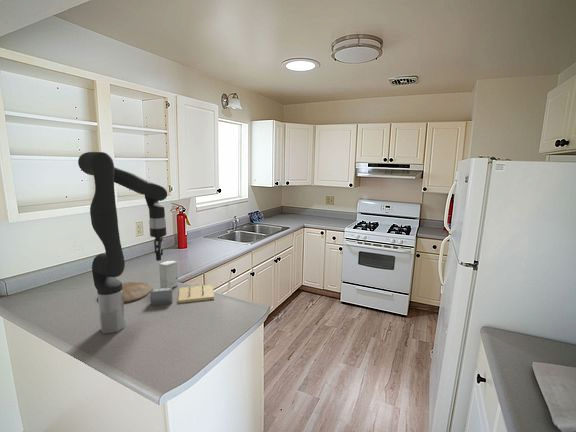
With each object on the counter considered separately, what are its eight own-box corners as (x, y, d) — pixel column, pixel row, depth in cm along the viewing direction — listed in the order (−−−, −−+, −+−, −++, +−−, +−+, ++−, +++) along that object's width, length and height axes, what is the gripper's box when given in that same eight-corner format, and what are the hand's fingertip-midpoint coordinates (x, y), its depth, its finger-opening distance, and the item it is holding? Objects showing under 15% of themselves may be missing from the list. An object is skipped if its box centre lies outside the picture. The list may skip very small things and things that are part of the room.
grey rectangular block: (172, 303, 155) (171, 290, 154) (151, 305, 152) (150, 292, 151) (172, 299, 159) (172, 287, 158) (152, 302, 156) (151, 289, 155)
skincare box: (166, 290, 170) (165, 265, 167) (159, 288, 173) (158, 263, 170) (178, 285, 177) (177, 261, 175) (171, 283, 180) (170, 259, 177)
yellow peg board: (214, 299, 160) (213, 292, 160) (178, 303, 155) (178, 295, 154) (212, 287, 176) (212, 280, 175) (179, 290, 170) (179, 283, 170)
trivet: (93, 293, 165) (93, 290, 164) (141, 281, 182) (141, 278, 182) (107, 310, 148) (106, 306, 147) (158, 294, 165) (158, 291, 165)
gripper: (164, 229, 143) (166, 261, 146) (167, 223, 156) (168, 253, 159) (147, 229, 141) (149, 263, 144) (151, 223, 154) (153, 254, 157)
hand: (159, 257), depth 151 cm, fingers open, 8 cm apart
